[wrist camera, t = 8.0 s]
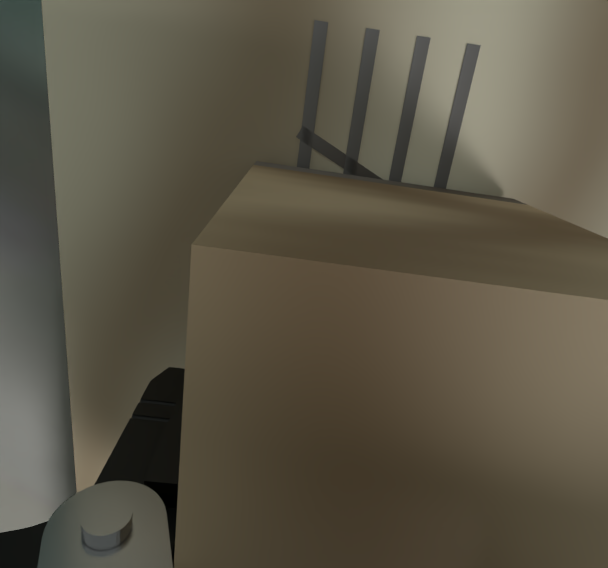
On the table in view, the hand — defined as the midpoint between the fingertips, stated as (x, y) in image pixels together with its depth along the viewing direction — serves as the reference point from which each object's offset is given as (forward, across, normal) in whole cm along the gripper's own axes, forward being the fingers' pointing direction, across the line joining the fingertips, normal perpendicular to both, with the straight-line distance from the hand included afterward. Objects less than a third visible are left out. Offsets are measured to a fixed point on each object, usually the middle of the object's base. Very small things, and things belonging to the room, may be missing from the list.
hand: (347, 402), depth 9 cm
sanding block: (+1, 0, 0) cm, 1 cm away
